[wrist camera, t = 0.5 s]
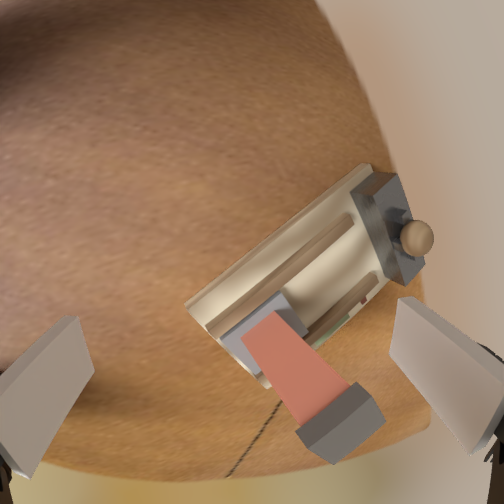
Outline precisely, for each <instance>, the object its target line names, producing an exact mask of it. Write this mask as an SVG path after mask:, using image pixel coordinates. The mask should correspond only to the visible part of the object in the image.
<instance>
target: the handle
mask: <svg viewBox="0 0 504 504" xmlns="http://www.w3.org/2000/svg"><path fill="white" fill-rule="evenodd" d="M308 332H309V331H308V330H307V329H306V327H305V326H304V324H303V323H302V321H301V320H300V319H299V317H298V316H297V314H296V313H295V311H294V310H293V309H292V307H291V306H290V304H289V303H288V302H287V300H286V299H285V297H284V296H283V294H282V293H281V292H280V291H279V290H278V291H277V292H275V293H274V294H273V295H272V296H271V297H269V298H268V299H267V300H266V301H264V302H263V303H262V304H261V305H260V306H258V307H257V308H256V309H255V310H253V311H252V312H251V313H250V314H248V315H247V316H246V317H245V318H243V319H242V320H241V321H240V322H238V323H237V324H236V325H235V326H233V327H232V328H231V329H229V330H228V331H227V332H226V333H224V334H223V335H222V336H221V337H219V338H220V340H221V342H222V343H223V344H224V345H225V346H226V347H227V348H228V349H229V350H230V351H231V352H232V353H233V354H234V355H235V356H236V357H237V358H238V359H239V360H240V361H241V362H242V363H243V364H244V365H246V366H247V367H248V368H249V369H250V370H251V371H252V372H253V373H254V374H255V375H256V374H258V373H259V372H260V371H262V372H263V373H264V375H265V376H266V378H267V379H268V381H269V382H270V384H271V385H272V387H273V388H274V389H275V391H276V392H277V394H278V395H279V397H280V398H281V400H282V401H283V402H284V404H285V405H286V407H287V408H288V409H289V411H290V412H291V414H292V415H293V417H294V418H295V419H296V421H297V422H298V423H299V425H300V426H301V427H300V428H299V429H298V430H296V431H295V432H296V433H297V435H298V436H299V438H300V439H301V440H302V442H303V443H304V445H305V446H306V448H307V449H309V450H310V451H312V452H313V453H315V454H316V455H318V456H320V457H321V458H323V459H324V460H326V461H328V462H329V463H331V464H333V465H334V464H336V463H337V462H338V461H340V460H341V459H342V458H344V457H345V456H346V455H348V454H349V453H350V452H351V451H353V450H354V449H355V448H356V447H358V446H359V445H360V444H361V443H363V442H364V441H365V440H366V439H367V438H368V437H370V436H371V435H372V434H373V433H374V432H375V431H377V430H378V429H379V428H380V427H381V426H382V425H383V424H384V423H385V422H386V420H385V418H384V416H383V414H382V413H381V411H380V409H379V407H378V406H377V404H376V402H375V401H374V399H373V397H372V396H371V395H370V394H369V393H368V392H367V391H366V390H365V389H364V388H363V387H362V386H360V385H359V384H358V383H357V382H355V383H354V384H353V385H352V386H350V385H349V384H348V383H347V382H346V381H345V380H344V379H343V378H342V377H341V376H340V375H339V374H337V373H336V372H335V371H334V370H333V369H332V368H331V367H330V366H329V365H328V364H327V363H326V362H325V361H324V360H323V359H322V358H321V357H320V356H319V355H318V354H317V353H316V352H315V351H314V350H313V349H312V348H311V347H310V346H309V345H308V344H307V343H306V342H305V341H304V340H303V339H302V337H304V336H305V335H306V334H307V333H308Z"/></svg>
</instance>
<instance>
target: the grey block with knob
mask: <svg viewBox="0 0 504 504" xmlns="http://www.w3.org/2000/svg"><path fill="white" fill-rule="evenodd" d="M349 193H350V195H351V197H352V199H353V201H354V203H355V206H356V208H357V210H358V212H359V214H360V217H361V219H362V221H363V224H364V226H365V228H366V231H367V233H368V235H369V238H370V240H371V242H372V245H373V247H374V250H375V252H376V255H377V257H378V260H379V262H380V265H381V268H382V270H383V273H384V276H385V277H386V278H388V279H390V280H392V281H394V282H397V283H399V284H401V285H403V286H405V287H406V286H407V285H408V284H409V282H410V281H411V280H412V279H413V278H414V277H415V276H416V275H417V273H418V272H419V271H420V270H421V269H422V268H423V266H424V265H425V261H424V256H419V257H415V256H411V255H409V254H408V253H406V252H405V251H404V249H403V246H402V242H401V241H400V233H401V231H402V229H403V227H404V226H405V225H406V224H407V223H408V222H410V221H413V217H412V214H411V211H410V208H409V205H408V202H407V199H406V196H405V193H404V190H403V188H402V185H401V182H400V179H399V177H398V174H395V173H383V172H373V173H371V174H370V175H369V176H368V177H367V178H365V179H364V180H363V181H362V182H361V183H359V184H358V185H357V186H356V187H355V188H353V189H352V190H351V191H350V192H349Z"/></svg>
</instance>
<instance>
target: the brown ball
mask: <svg viewBox="0 0 504 504" xmlns="http://www.w3.org/2000/svg"><path fill="white" fill-rule="evenodd" d="M400 241H401V242H402V246H403V249H404V251H405V252H406V253H408V254H409V255H411V256H415V257H419V256H423V255H425V254H427V253H428V252H429V251H430V249H431V248H432V245H433V242H434V235H433V232H432V229H431V228H430V226H429V225H427V223H425V222H423V221H420V220H413V221H410V222H408V223H407V224H406V225H405V226H404V227H403V229H402V231H401V233H400Z"/></svg>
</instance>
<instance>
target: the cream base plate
mask: <svg viewBox="0 0 504 504" xmlns="http://www.w3.org/2000/svg"><path fill="white" fill-rule="evenodd" d="M371 173H373V170H372V167H371V165H370V164H368V163H360V164H359V165H358V166H357V167H355V168H354V169H353V170H351V171H350V172H349V173H348V174H346V175H345V176H344V177H343V178H341V179H340V180H339V181H338V182H336V183H335V184H334V185H333V186H331V187H330V188H329V189H327V190H326V191H325V192H324V193H322V194H321V195H320V196H319V197H317V198H316V199H315V200H314V201H312V202H311V203H310V204H309V205H307V206H306V207H305V208H303V209H302V210H301V211H300V212H298V213H297V214H296V215H295V216H293V217H292V218H291V219H290V220H288V221H287V222H286V223H285V224H283V225H282V226H281V227H280V228H278V229H277V230H276V231H274V232H273V233H272V234H271V235H269V236H268V237H267V238H266V239H264V240H263V241H262V242H261V243H259V244H258V245H257V246H256V247H254V248H253V249H252V250H251V251H249V252H248V253H247V254H246V255H244V256H243V257H242V258H240V259H239V260H238V261H237V262H235V263H234V264H233V265H232V266H230V267H229V268H228V269H227V270H225V271H224V272H223V273H222V274H220V275H219V276H218V277H217V278H215V279H214V280H213V281H212V282H210V283H209V284H208V285H207V286H205V287H204V288H203V289H202V290H200V291H199V292H198V293H196V294H195V295H194V296H193V297H191V298H190V299H189V300H188V301H186V302H185V303H184V304H185V307H186V309H187V311H188V312H189V313H190V314H191V315H192V316H193V317H194V319H195V320H196V321H197V322H198V323H199V324H200V325H201V326H202V327H203V328H204V329H205V330H206V331H207V332H208V333H209V334H210V335H211V336H212V337H213V338H214V339H215V340H216V341H217V342H218V343H219V344H220V345H221V346H222V347H223V348H224V349H225V350H226V351H227V352H228V353H229V354H230V355H231V356H232V357H233V358H234V359H235V360H236V361H237V362H238V363H239V364H240V365H241V366H242V367H243V368H244V369H245V370H247V371H248V372H249V373H250V374H251V375H252V376H253V377H254V378H255V379H256V380H257V381H258V382H259V383H260V384H262V385H263V386H264V387H265V388H266V389H268V388H269V387H271V386H272V385H271V384H270V382H269V381H268V379H267V378H266V376H265V375H264V373H263V372H262V371H260V372H259V373H258V374H256V375H255V374H254V373H253V372H252V371H251V370H250V369H249V368H248V367H247V366H246V365H244V364H243V363H242V362H241V361H240V360H239V359H238V358H237V357H236V356H235V355H234V354H233V353H232V352H231V351H230V350H229V349H228V348H227V347H226V346H225V345H224V344H223V343H222V342H221V340H220V338H219V337H221V336H222V335H223V334H224V333H226V332H227V331H228V330H229V329H231V328H232V327H233V326H235V325H236V324H237V323H238V322H240V321H241V320H242V319H243V318H245V317H246V316H247V315H248V314H250V313H251V312H252V311H253V310H255V309H256V308H257V307H258V306H260V305H261V304H262V303H263V302H264V301H266V300H267V299H268V298H269V297H271V296H272V295H273V294H274V293H275V292H277V291H278V290H279V291H280V292H281V293H282V294H283V296H284V297H285V299H286V300H287V302H288V303H289V304H290V306H291V307H292V309H293V310H294V311H295V313H296V314H297V316H298V317H299V319H300V320H301V321H302V323H303V324H304V326H305V327H306V329H307V330H308V331H309V332H308V333H307V334H306V335H305V336H304V337H302V339H303V340H304V341H305V342H306V343H307V344H308V345H309V346H310V347H311V348H312V349H313V350H314V351H315V350H316V349H317V348H319V347H320V346H321V345H322V344H323V343H324V342H326V341H327V340H328V339H329V338H330V337H331V336H332V335H333V334H335V333H336V332H337V331H338V330H339V329H340V328H341V327H342V326H343V325H344V324H345V323H347V322H348V321H349V320H350V319H351V318H352V317H353V316H354V315H355V314H356V313H357V312H358V311H359V310H360V309H361V308H362V307H363V306H364V305H365V304H367V303H368V302H369V301H370V300H371V299H372V298H373V297H374V296H375V295H376V294H377V293H378V292H379V291H380V290H381V289H382V287H383V286H384V285H385V284H386V283H387V282H388V281H389V280H390V279H388V278H386V277H385V276H384V273H383V270H382V268H381V265H380V262H379V260H378V257H377V255H376V252H375V250H374V247H373V245H372V242H371V240H370V238H369V235H368V233H367V231H366V228H365V226H364V224H363V221H362V219H361V217H360V214H359V212H358V210H357V208H356V206H355V203H354V201H353V199H352V197H351V195H350V193H349V192H350V191H351V190H352V189H353V188H355V187H356V186H357V185H358V184H359V183H361V182H362V181H363V180H364V179H365V178H367V177H368V176H369V175H370V174H371Z"/></svg>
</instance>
